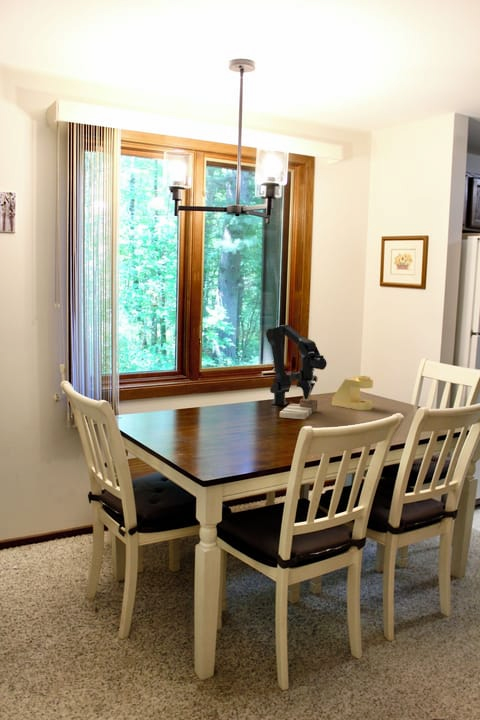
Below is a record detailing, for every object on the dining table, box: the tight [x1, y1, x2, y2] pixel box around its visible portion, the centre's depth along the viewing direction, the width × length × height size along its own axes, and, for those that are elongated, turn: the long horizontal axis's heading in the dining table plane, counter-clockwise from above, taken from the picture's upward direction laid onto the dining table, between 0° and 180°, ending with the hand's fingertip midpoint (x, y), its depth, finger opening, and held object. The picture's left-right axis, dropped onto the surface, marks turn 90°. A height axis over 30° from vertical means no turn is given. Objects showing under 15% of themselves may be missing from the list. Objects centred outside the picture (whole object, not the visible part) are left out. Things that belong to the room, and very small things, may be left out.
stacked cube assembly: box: [299, 390, 318, 413], centre depth 325 cm, size 5×8×10 cm, turn 70°
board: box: [279, 403, 313, 420], centre depth 321 cm, size 20×12×3 cm, turn 160°
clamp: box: [331, 375, 374, 411], centre depth 337 cm, size 20×9×16 cm, turn 48°
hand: (306, 398), depth 325 cm, fingers closed on stacked cube assembly, 3 cm apart
